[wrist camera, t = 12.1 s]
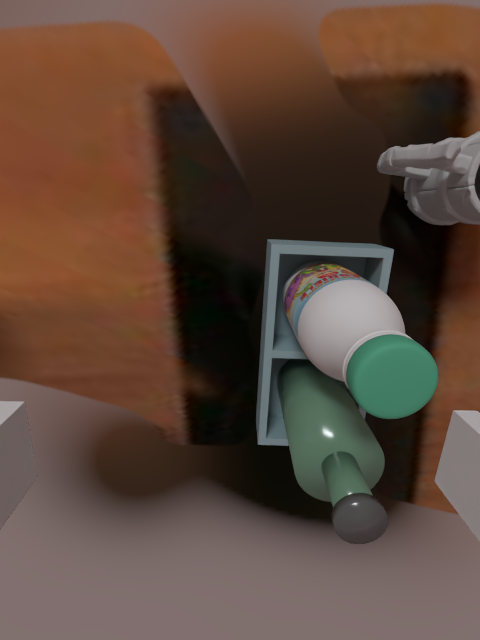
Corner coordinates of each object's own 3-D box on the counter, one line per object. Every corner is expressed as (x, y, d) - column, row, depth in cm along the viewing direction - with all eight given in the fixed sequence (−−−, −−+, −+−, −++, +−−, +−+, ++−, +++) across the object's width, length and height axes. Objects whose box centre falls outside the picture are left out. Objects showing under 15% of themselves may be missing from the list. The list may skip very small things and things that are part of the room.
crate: (255, 418, 43) (258, 444, 38) (267, 239, 36) (271, 244, 31) (346, 421, 43) (359, 448, 38) (373, 243, 36) (394, 249, 32)
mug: (458, 232, 36) (560, 243, 25) (350, 204, 35) (403, 202, 24) (492, 153, 34) (621, 125, 22) (376, 121, 33) (449, 74, 22)
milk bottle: (365, 307, 38) (492, 407, 19) (301, 341, 39) (361, 467, 20) (333, 244, 36) (440, 285, 17) (268, 282, 37) (298, 360, 18)
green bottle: (274, 406, 42) (301, 562, 23) (278, 352, 39) (312, 477, 21) (333, 408, 42) (405, 566, 23) (340, 354, 40) (427, 481, 21)
